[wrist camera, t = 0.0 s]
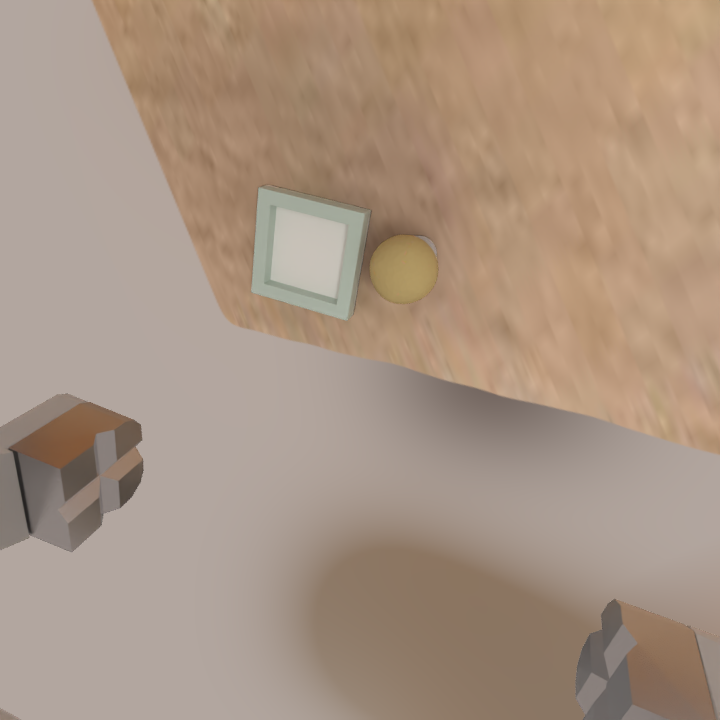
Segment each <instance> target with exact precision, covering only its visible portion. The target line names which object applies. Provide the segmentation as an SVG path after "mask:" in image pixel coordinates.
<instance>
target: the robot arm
mask: <svg viewBox="0 0 720 720" xmlns="http://www.w3.org/2000/svg"><path fill="white" fill-rule="evenodd" d="M141 441H142V431H141V425H140V424H139V423H137V422H136V421H135V420H133V419H131V418H128V417H126V416H123V415H121V414H118V413H116V412H113V411H111V410H108V409H106V408H103V407H101V406H98V405H96V404H93V403H91V402H86V401H84V400H82V399H79V398H77V397H74V396H72V395H70V394H59V395H56V396H54V397H52V398H51V399H49V400H47V401H45V402H43V403H42V404H40V405H38V406H36V407H35V408H33V409H31V410H29V411H28V412H26V413H24V414H22V415H21V416H19V417H17V418H16V419H14V420H12V421H10V422H8V423H7V424H5V425H3V426H2V427H0V550H2V549H4V548H6V547H9V546H11V545H14V544H16V543H18V542H21V541H23V540H25V539H28V538H29V535H31V536H33V537H36V538H38V539H40V540H43V541H45V542H48V543H50V544H53V545H55V546H58V547H60V548H62V549H65V550H67V551H70V552H73V551H74V550H75V549H76V548H77V547H78V546H79V545H81V544H82V543H83V542H84V541H85V540H86V539H87V538H88V537H89V536H90V535H91V534H93V533H94V532H95V531H96V530H97V529H98V528H99V527H100V526H101V525H102V519H103V514H104V513H107V512H110V511H113V510H116V509H119V508H121V507H122V506H123V505H124V504H125V503H126V502H127V501H128V500H129V499H130V498H131V497H132V496H133V494H134V492H135V490H136V489H137V487H138V486H139V484H140V482H141V478H142V474H143V458H142V457H141V455H140V454H139V452H138V450H137V449H136V446H137V445H138V444H139V443H140V442H141ZM601 618H602V619H601V620H602V630H600V631H597V632H594V633H591V634H590V635H589V636H588V638H587V640H586V642H585V644H584V646H583V648H582V651H581V654H580V658H579V661H578V665H577V673H576V700H577V701H578V703H579V705H580V707H581V708H582V710H583V712H584V713H585V717H584V718H583V720H720V637H719V636H716V635H713V634H711V633H708V632H705V631H702V630H700V629H697V628H694V627H691V626H686V625H684V624H682V623H680V622H677V621H674V620H671V619H669V618H666V617H663V616H660V615H658V614H655V613H652V612H649V611H646V610H644V609H641V608H638V607H636V606H633V605H630V604H627V603H624V602H622V601H619V600H616V599H614V600H612V601H611V602H610V603H608V604H607V606H606V608H605V609H604V611H603V612H602V614H601ZM0 720H21V719H19V718H17V717H16V716H14V715H12V714H10V713H8V712H6V711H4V710H3V709H1V708H0Z"/></svg>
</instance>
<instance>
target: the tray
mask: <svg viewBox="0 0 720 720" xmlns="http://www.w3.org/2000/svg"><path fill="white" fill-rule="evenodd" d="M370 216H371V210H369V209H365V208H361V207H357V206H353V205H349V204H345V203H341V202H337V201H333V200H329V199H325V198H321V197H317V196H313V195H309V194H305V193H300V192H296V191H292V190H288V189H284V188H280V187H276V186H272V185H265V186H261V187H259V188H258V202H257V217H256V231H255V246H254V261H253V275H252V290H251V292H252V293H255V294H258V295H262V296H265V297H269V298H272V299H275V300H279V301H282V302H285V303H289V304H292V305H295V306H299V307H302V308H306V309H309V310H312V311H316V312H319V313H322V314H326V315H329V316H332V317H336V318H339V319H343V320H346V321H347V320H348V319H349V318H350V317H351V316H352V315H353V314H354V309H355V303H356V297H357V292H358V286H359V280H360V274H361V268H362V262H363V257H364V251H365V245H366V239H367V233H368V227H369V222H370Z"/></svg>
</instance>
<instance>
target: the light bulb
mask: <svg viewBox="0 0 720 720" xmlns="http://www.w3.org/2000/svg"><path fill="white" fill-rule="evenodd" d="M436 257H437V250H436V247H435V245H434V243H433V242H432V241H431V240H430V239H429V238H427V237H425V236H420V235H417V236H412V235H397V236H393V237H391V238H389V239H387V240H385V241H384V242H382V243H381V244H380V245H379V246H378V247H377V249H376V250H375V251H374V253H373V255H372V257H371V261H370V277H371V281H372V283H373V285H374V287H375V289H376V290H377V292H378V293H379V294H380V295H381V296H382V297H383V298H384V299H386V300H387V301H389V302H392V303H396V304H408V303H413V302H416V301H418V300H420V299H422V298H423V297H425V296H426V295H427V294H428V293H429V292H430V291H431V290H432V288H433V287H434V285H435V283H436V280H437V276H438V261H437V258H436Z"/></svg>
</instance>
